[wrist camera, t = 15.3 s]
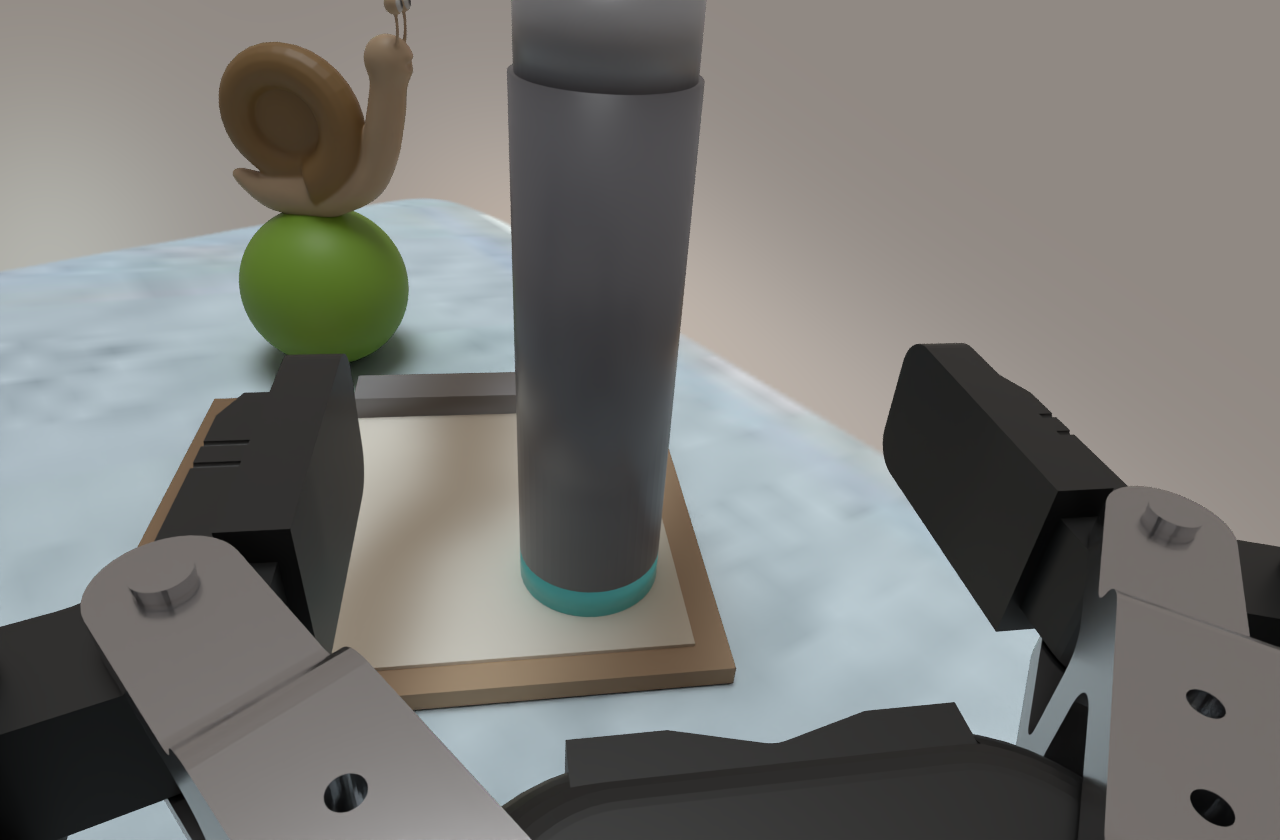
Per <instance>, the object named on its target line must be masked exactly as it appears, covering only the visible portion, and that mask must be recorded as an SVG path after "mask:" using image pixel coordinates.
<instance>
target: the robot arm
mask: <svg viewBox="0 0 1280 840" xmlns="http://www.w3.org/2000/svg"><path fill="white" fill-rule="evenodd" d="M1069 431H1070V430H1069V429H1068V428H1067V427H1066V426H1065V425H1064V424H1063V423H1062V422H1060V420H1058V419H1057V418H1056V417H1053V418H1052V413H1051V412H1050V411H1049V410H1048V409H1047V408H1046V407H1045V406H1044V405H1043V404H1042V403H1041V402H1040V401H1039V400H1038V399H1037V398H1035V397H1034V396H1033V395H1032V394H1031V393H1030V392H1028V391H1027V390H1025V389H1023V388H1022V387H1020V386H1018V385H1016V384H1015V383H1013V382H1011V381H1009V380H1007V379H1006V378H1004V377H1002V376H1000V375H999V374H998V373H997V372H996V371H995V370H994V369H993V368H992V367H991V366H990V365H989V364H988V363H987V362H986V361H985V360H984V359H983V358H982V357H981V356H980V355H979V354H978V353H977V352H976V351H974V349H973V348H971V347H970V346H969V345H967V344H964V343H946V344H916V345H914V346H912V347H911V348H910V349H909V350H908V352H907V353H906V356H905V358H904V361H903V364H902V368H901V372H900V375H899V379H898V382H897V386H896V390H895V393H894V397H893V401H892V404H891V408H890V411H889V415H888V419H887V423H886V426H885V430H884V435H883V453H884V459H885V463H886V466H887V468H888V470H889V472H890V474H891V475H892V477H893V478H894V480H895V481H896V483H897V484H898V486H899V487H900V489H901V490H902V492H903V493H904V495H905V496H906V498H907V499H908V501H909V502H910V504H911V505H912V507H913V508H914V510H915V511H916V513H917V514H918V516H919V517H920V519H921V520H922V522H923V523H924V525H925V526H926V528H927V529H928V531H929V532H930V534H931V535H932V537H933V538H934V540H935V541H936V543H937V544H938V546H939V547H940V549H941V550H942V552H943V553H944V555H945V556H946V558H947V559H948V561H949V562H950V564H951V565H952V567H953V568H954V569H955V571H956V572H957V574H958V575H959V577H960V578H961V580H962V581H963V583H964V584H965V586H966V587H967V589H968V590H969V592H970V593H971V595H972V596H973V598H974V599H975V601H976V602H977V604H978V605H979V607H980V608H981V610H982V611H983V613H984V614H985V616H986V617H987V619H988V620H989V622H990V623H991V625H992V626H993V628H994V629H995V631H996V632H998V631H1010V630H1022V629H1034V628H1035V629H1036V631H1037V632H1038V633H1039V635H1040V637H1039V639H1038V641H1037V643H1036V645H1035V647H1034V649H1033V652H1032V655H1031V659H1030V665H1029V670H1028V676H1027V682H1026V688H1025V694H1024V700H1023V706H1022V712H1021V718H1020V724H1019V730H1018V736H1017V742H1016V745H1013V744H1010V743H1008V742H1005V741H1001V740H996V739H992V738H988V737H984V736H980V735H975V734H972V732H971V730H970V729H969V727H968V725H967V723H966V722H965V720H964V718H963V716H962V714H961V713H960V711H959V709H958V707H957V706H956V704H955V702H952V703H942V704H932V705H921V706H911V707H901V708H890V709H880V710H870V711H864V712H861V713H858V714H856V715H853V716H850V717H848V718H845V719H842V720H840V721H837V722H835V723H832V724H829V725H827V726H824V727H821V728H819V729H816V730H813V731H811V732H808V733H805V734H803V735H800V736H798V737H795V738H792V739H790V740H787V741H784V742H780V743H760V742H752V741H745V740H737V739H730V738H722V737H715V736H707V735H699V734H692V733H684V732H677V731H669V730H665V731H654V732H644V733H634V734H623V735H613V736H603V737H593V738H582V739H572V740H566V750H565V773H564V774H562V775H559V776H557V777H554V778H551V779H549V780H546V781H544V782H542V783H540V784H538V785H536V786H535V787H533V788H531V789H529V790H527V791H525V792H523V793H521V794H519V795H518V796H516V797H515V798H513V799H512V800H510V801H509V802H507V803H506V804H504V805H503V806H500V805H499V804H498V803H497V802H496V800H495V799H494V798H493V797H492V796H491V795H490V794H489V793H488V792H487V791H486V790H485V788H484V787H483V786H482V785H481V784H480V783H479V782H478V781H477V780H476V779H475V778H474V776H473V775H472V774H471V773H470V772H469V771H468V770H467V769H466V768H465V767H464V766H463V765H462V763H461V762H460V761H459V760H458V759H457V758H456V757H455V756H454V755H453V754H452V753H451V751H450V750H449V749H448V748H447V747H446V746H445V745H444V744H443V743H442V742H441V741H440V739H439V738H438V737H437V736H436V735H435V734H434V733H433V732H432V731H431V730H430V729H429V727H428V726H427V725H426V724H425V723H424V722H423V721H422V720H421V719H420V718H419V717H418V716H417V714H416V713H415V712H414V711H413V710H412V709H411V708H410V707H409V706H408V705H407V704H406V702H405V701H404V700H403V699H402V698H401V697H400V696H399V695H398V694H397V693H396V692H395V690H394V689H393V688H392V687H391V686H390V685H389V684H388V683H387V682H386V681H385V680H384V678H383V677H382V676H381V675H380V674H379V673H378V672H377V671H376V670H375V669H374V668H373V667H372V665H371V664H370V663H369V662H368V661H367V660H366V659H365V658H364V657H363V656H362V655H361V654H360V653H358V652H357V651H356V650H354V649H352V648H351V647H347V646H346V647H342V648H341V649H339V650H337V651H335V652H334V653H332V649H333V644H334V639H335V634H336V629H337V624H338V619H339V613H340V608H341V603H342V598H343V593H344V588H345V583H346V578H347V573H348V567H349V562H350V557H351V552H352V547H353V542H354V537H355V532H356V527H357V522H358V516H359V511H360V506H361V501H362V496H363V488H364V456H363V447H362V441H361V434H360V428H359V421H358V414H357V408H356V401H355V394H354V388H353V381H352V375H351V369H350V364H349V361H348V358H347V356H346V354H297V355H286V356H285V357H284V359H283V361H282V363H281V366H280V368H279V370H278V373H277V375H276V378H275V380H274V382H273V385H272V387H271V390H270V392H257V393H243V394H242V395H241V396H240V397H238V398H237V399H236V400H235V401H233V402H232V403H231V404H230V405H228V406H227V407H226V408H225V409H223V410H222V411H221V412H220V413H219V414H217V415H216V417H215V419H214V421H213V423H212V425H211V427H210V429H209V431H208V433H207V435H206V437H205V439H204V441H203V442H204V446H201V447H200V449H199V451H198V453H197V455H196V457H195V459H194V461H193V468H190V469H189V471H188V473H187V475H186V478H185V480H184V482H183V484H182V486H181V488H180V490H179V492H178V494H177V496H176V498H175V500H174V502H173V504H172V506H171V508H170V510H169V512H168V514H167V516H166V518H165V520H164V522H163V524H162V526H161V528H160V530H159V532H158V534H157V536H156V538H155V540H154V542H150V543H148V544H145V545H142V546H140V547H137V548H135V549H133V550H131V551H129V552H127V553H125V554H123V555H122V556H120V557H118V558H117V559H115V560H113V561H112V562H111V563H109V564H108V565H107V566H105V567H104V568H103V569H102V570H101V571H100V572H99V573H98V574H97V575H96V576H95V577H94V578H93V579H92V581H91V582H90V583H89V585H88V586H87V588H86V590H85V592H84V594H83V596H82V600H81V603H80V604H77V605H75V606H72V607H69V608H66V609H63V610H60V611H57V612H53V613H50V614H46V615H42V616H39V617H35V618H31V619H28V620H24V621H20V622H16V623H13V624H9V625H5V626H2V627H0V840H67V837H68V836H69V835H71V834H74V833H77V832H79V831H82V830H85V829H87V828H90V827H93V826H95V825H98V824H101V823H103V822H106V821H109V820H112V819H114V818H117V817H120V816H122V815H125V814H128V813H130V812H133V811H136V810H138V809H141V808H144V807H146V806H149V805H152V804H154V803H157V802H160V801H162V800H164V801H165V802H166V804H167V806H168V808H169V809H170V811H171V813H172V814H173V816H174V818H175V819H176V821H177V823H178V825H179V826H180V828H181V830H182V831H183V833H184V835H185V836H186V838H187V840H1280V547H1277V546H1271V545H1265V544H1259V543H1252V542H1247V541H1240V540H1236V537H1235V536H1234V534H1233V532H1232V531H1231V530H1230V528H1229V527H1228V526H1227V525H1226V524H1225V523H1224V522H1223V521H1222V520H1221V519H1220V518H1219V517H1218V516H1216V515H1215V514H1214V513H1212V512H1211V511H1209V510H1208V509H1206V508H1205V507H1203V506H1201V505H1200V504H1198V503H1196V502H1194V501H1192V500H1189V499H1187V498H1185V497H1183V496H1180V495H1178V494H1175V493H1172V492H1169V491H1165V490H1161V489H1157V488H1152V487H1144V486H1127V485H1126V484H1125V483H1124V482H1123V481H1122V480H1121V479H1120V478H1119V477H1118V476H1117V475H1116V474H1115V473H1114V472H1113V471H1111V470H1110V469H1109V468H1108V467H1107V466H1106V465H1105V464H1104V463H1103V462H1102V461H1101V460H1100V459H1099V458H1098V457H1097V456H1096V455H1095V454H1094V453H1093V452H1092V451H1091V450H1090V449H1089V448H1087V446H1086V445H1084V444H1083V443H1082V442H1081V441H1080V440H1079V439H1078V438H1077V437H1076V436H1075V435H1070V433H1069Z"/></svg>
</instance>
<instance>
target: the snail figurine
mask: <svg viewBox="0 0 1280 840" xmlns="http://www.w3.org/2000/svg"><path fill="white" fill-rule="evenodd" d="M384 6H385V9H386V10H387V11H388V12H389V13H391V14H393V15H394V17H395V22H396V36H395V35H391V34H381V35H378V36H376V37H374V38H372V39H371V40H370V41H369V42H368V44H367V46H366V48H365V52H364V63H365V67H366V70H367V72H368V75H369V80H370V90H369V98H368V107H367V113H366V120H365V121H364V117H363V113H362V111H361V108H360V105H359V102H358V100H357V98H356V96H355V94H354V93H353V91H352V89H351V88H350V86H349V84H348V83H347V82H346V81H345V79H344V78H343V77H342V76H341V74H340V73H339V72H338V71H337V70H336V69H335V68H334V67H333V66H331V65H330V64H329V63H328V62H327V61H326V60H324V59H323V58H321V57H320V56H318V55H316V54H315V53H313V52H311V51H309V50H307V49H304V48H302V47H299V46H297V45H292V44H287V43H281V42H268V43H267V42H266V43H260V44H257V45H254V46H251V47H249V48H247V49H245V50H244V51H242V52H240V53H239V54H238V55H237V56H236V57H235V58H234V59H233V60H232V61H231V62H230V64H228V66H227V68H226V70H225V72H224V74H223V76H222V79H221V83H220V88H219V108H220V113H221V118H222V121H223V124H224V127H225V130H226V132H227V134H228V136H229V137H230V139H231V141H232V143H233V144H234V146H235V147H236V148H237V149H238V150H239V152H240V153H241V154H242V155H243V156H244V157H245V158H246V159H247V160H248V161H250V162H251V163H252V164H253V165H254V166H255V167H256V168H258V169H259V170H260V172H259V171H254V170H250V169H245V168H237V169H235V170H234V171H233V176H234V178H235V179H236V181H237V182H238V183H239V184H240V185H241V187H242V188H243V189H244V190H246V191H247V192H248V193H249V194H250V195H251V196H252V197H253V198H255V199H256V200H257V201H258V202H260V203H261V204H263V205H264V206H266V207H268V208H270V209H272V210H275V211H279V212H282V213H280V214H278V215H277V216H275V217H273V218H272V219H270V220H269V221H268V222H266V223H265V224H264V225H263V226H262V227H261V228H260V229H259V230H258V231H257V232H256V233H255V235H254V236H253V237H252V239H251V240H250V242H249V244H248V246H247V248H246V250H245V252H244V255H243V258H242V261H241V265H240V272H239V288H240V294H241V299H242V302H243V305H244V308H245V311H246V313H247V315H248V317H249V319H250V321H251V322H252V324H253V325H254V327H255V328H256V329H257V331H258V332H259V333H260V334H261V335H262V336H263V337H264V338H265V339H266V340H267V341H268V342H269V343H270V344H271V345H273V346H274V347H275V348H277V349H278V350H280V351H282V352H283V353H285V354H287V355H297V354H346V356H347V358H348V361H349V362H352V361H355V360H358V359H361V358H363V357H365V356H367V355H369V354H371V353H373V352H374V351H376V350H377V349H379V348H380V347H381V346H382V345H384V344H385V343H386V342H387V341H388V340H389V339H390V338H391V336H392V335H393V334H394V333H395V331H396V330H397V328H398V326H399V325H400V323H401V321H402V319H403V316H404V313H405V310H406V307H407V302H408V292H409V286H408V277H407V272H406V268H405V265H404V262H403V259H402V257H401V255H400V253H399V251H398V249H397V247H396V246H395V244H394V243H393V241H392V240H391V239H390V238H389V236H388V235H387V234H386V233H385V232H384V231H383V230H382V229H381V228H380V227H379V226H377V225H376V224H375V223H374V222H372V221H371V220H369V219H368V218H366V217H364V216H363V215H361V214H359V213H357V212H354V210H356V209H358V208H361V207H363V206H365V205H367V204H369V203H370V202H372V201H374V200H375V199H376V198H377V197H378V196H380V195H381V194H382V192H383V191H384V190H385V188H386V187H387V185H388V184H389V182H390V179H391V177H392V175H393V173H394V170H395V167H396V164H397V161H398V157H399V153H400V149H401V143H402V137H403V130H404V122H405V115H406V96H407V86H408V83H409V80H410V77H411V75H412V72H413V67H412V58H413V54H412V51H411V50H410V48H409V46H408V45H407V44H406V15H405V12H406V11H407V10H409V9H410V6H411V1H410V0H384ZM401 12H402V13H403V18H404V36H403V39H401V38H399V28H398V18H397V15H398V14H400V13H401Z"/></svg>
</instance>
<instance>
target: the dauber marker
mask: <svg viewBox="0 0 1280 840" xmlns="http://www.w3.org/2000/svg"><path fill="white" fill-rule="evenodd" d="M511 5H512V6H511V7H512V50H513V64H512V65H510V66H509V67H508V69H507V86H508V123H509V124H508V125H509V159H510V161H509V162H510V197H511V235H512V272H513V309H514V346H515V383H516V420H517V457H518V494H519V531H520V568H521V577H522V580H523V583H524V585H525V586H526V588H527V590H528V591H529V592H530V594H531V595H532V596H533V597H534V598H535V599H536V600H538V601H539V602H540V603H542V604H543V605H545V606H547V607H549V608H550V609H553V610H555V611H558V612H560V613H564V614H567V615H573V616H580V617H599V616H606V615H611V614H615V613H618V612H621V611H623V610H626V609H628V608H630V607H632V606H633V605H635V604H636V603H638V602H639V601H640V600H641V599H643V598H644V597H645V596H646V594H647V593H648V592H649V591H650V589H651V587H652V586H653V583H654V581H655V577H656V570H657V560H658V550H659V540H660V530H661V520H662V509H663V499H664V489H665V479H666V469H667V459H668V448H669V438H670V428H671V418H672V408H673V398H674V387H675V377H676V367H677V357H678V347H679V337H680V326H681V316H682V306H683V295H684V286H685V275H686V265H687V254H688V245H689V234H690V223H691V215H692V204H693V194H694V184H695V172H696V164H697V153H698V143H699V132H700V123H701V112H702V102H703V92H704V79H703V78H702V77H701V76H700V75H699V73H700V63H701V52H702V42H703V31H704V20H705V10H706V0H511Z"/></svg>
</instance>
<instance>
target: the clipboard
mask: <svg viewBox="0 0 1280 840" xmlns="http://www.w3.org/2000/svg"><path fill="white" fill-rule="evenodd" d="M354 394H355V401H356V408H357V414H358V421H359V428H360V434H361V441H362V447H363V456H364V488H363V496H362V501H361V506H360V511H359V516H358V522H357V527H356V532H355V537H354V542H353V547H352V552H351V557H350V562H349V567H348V573H347V578H346V583H345V588H344V593H343V598H342V603H341V608H340V613H339V619H338V624H337V629H336V634H335V639H334V644H333V649H332V653H334V652H335V651H337V650H339V649H341V648H342V647H346V646H347V647H351V648H352V649H354V650H356V651H357V652H358V653H360V654H361V655H362V656H363V657H364V658H365V659H366V660H367V661H368V662H369V663H370V664H371V665H372V667H373V668H374V669H375V670H376V671H377V672H378V673H379V674H380V675H381V676H382V677H383V678H384V680H385V681H386V682H387V683H388V684H389V685H390V686H391V687H392V688H393V689H394V690H395V692H396V693H397V694H398V695H399V696H400V697H401V698H402V699H403V700H404V701H405V702H406V704H407V705H408V706H409V707H410V708H411V709H412V710H419V709H431V708H442V707H454V706H466V705H478V704H490V703H501V702H513V701H525V700H537V699H548V698H560V697H572V696H584V695H596V694H607V693H619V692H631V691H643V690H654V689H666V688H678V687H690V686H702V685H713V684H725V683H733V681H734V676H735V671H736V667H735V663H734V660H733V657H732V654H731V650H730V647H729V644H728V640H727V637H726V634H725V631H724V627H723V624H722V621H721V618H720V614H719V611H718V608H717V605H716V601H715V598H714V595H713V592H712V588H711V585H710V582H709V579H708V575H707V572H706V569H705V565H704V562H703V559H702V556H701V552H700V549H699V546H698V543H697V539H696V536H695V533H694V530H693V526H692V523H691V520H690V517H689V513H688V510H687V507H686V504H685V500H684V497H683V494H682V490H681V487H680V484H679V481H678V477H677V474H676V471H675V468H674V464H673V461H672V458H671V455H670V451H669V448H668V459H667V469H666V479H665V489H664V499H663V509H662V520H661V530H660V540H659V550H658V560H657V570H656V577H655V581H654V583H653V586H652V587H651V589H650V591H649V592H648V593H647V594H646V596H645V597H644V598H643V599H641V600H640V601H639V602H638V603H636V604H635V605H633V606H632V607H630V608H628V609H626V610H623V611H621V612H618V613H615V614H611V615H606V616H599V617H580V616H573V615H567V614H564V613H560V612H558V611H555V610H553V609H550V608H549V607H547V606H545V605H543V604H542V603H540V602H539V601H538V600H536V599H535V598H534V597H533V596H532V595H531V594H530V592H529V591H528V590H527V588H526V586H525V585H524V583H523V580H522V577H521V568H520V531H519V494H518V457H517V420H516V383H515V372H503V373H456V374H409V375H361V376H359V378H358V381H357V385H356V389H355V393H354ZM236 399H237V398H229V399H214V401H213V403H212V405H211V407H210V409H209V411H208V412H207V414H206V416H205V418H204V420H203V422H202V424H201V426H200V428H199V430H198V432H197V434H196V436H195V437H194V439H193V441H192V443H191V445H190V447H189V449H188V451H187V453H186V455H185V457H184V459H183V461H182V463H181V464H180V466H179V468H178V470H177V472H176V474H175V476H174V478H173V480H172V482H171V484H170V486H169V488H168V489H167V491H166V493H165V495H164V497H163V499H162V501H161V503H160V505H159V507H158V509H157V511H156V513H155V515H154V516H153V518H152V520H151V522H150V524H149V526H148V528H147V530H146V532H145V534H144V536H143V538H142V540H141V541H140V543H139V545H138V547H140V546H142V545H145V544H148V543H150V542H154V540H155V538H156V536H157V534H158V532H159V530H160V528H161V526H162V524H163V522H164V520H165V518H166V516H167V514H168V512H169V510H170V508H171V506H172V504H173V502H174V500H175V498H176V496H177V494H178V492H179V490H180V488H181V486H182V484H183V482H184V480H185V478H186V475H187V473H188V471H189V469H190V468H193V461H194V459H195V457H196V455H197V453H198V451H199V449H200V447H201V446H204V442H203V441H204V439H205V437H206V435H207V433H208V431H209V429H210V427H211V425H212V423H213V421H214V419H215V417H216V415H217V414H219V413H220V412H221V411H222V410H223V409H225V408H226V407H227V406H228V405H230V404H231V403H232V402H233V401H235V400H236Z"/></svg>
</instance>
